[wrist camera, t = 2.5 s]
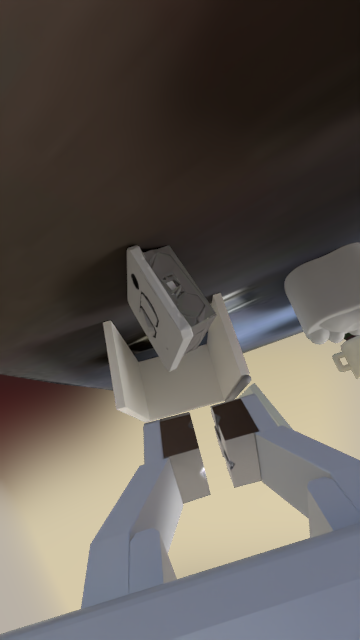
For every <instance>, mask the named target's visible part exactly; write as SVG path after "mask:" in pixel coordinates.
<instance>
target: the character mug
mask: <svg viewBox="0 0 360 640" xmlns="http://www.w3.org/2000/svg"><path fill="white" fill-rule="evenodd" d="M344 339H345V340H346V342H344V343H343V344H342V345H341V350H342V352H340V353H337V354H334V355H333V356H332V357H333V360H334V362H335V364H336V366H337V368H338V370H339V371H340V372H344V371H348V370H352V372H353V374H354V375H355V377H356V379H360V335H357V336H356V335H352V334H350V333H349V332H348V333H346V334H345V336H344ZM342 357H345V358H346V360H347V362H348V365H345V366H343V365H342V363H341V361H340V358H342Z"/></svg>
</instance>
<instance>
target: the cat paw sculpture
mask: <svg viewBox="0 0 360 640" xmlns="http://www.w3.org/2000/svg"><path fill="white" fill-rule="evenodd" d="M285 292H286V294H287V297H288V299H289V301H290V303H291V305H292V307H293V309H294V311H295V314H296V316H297V318H298V320H299V322H300V324H301V326H302V328H303V331H304V333H305V334H306V337H307V338H308V339H310V340H311V341H312V342H313V343H315V344H323V343H324V342H326V341H327V340H330V341H331V342H334V343H339V342H341V341H342V340H343V339H344V336H345V334H346V333H348V332H349V333H350V334H352V335H356V336H357V335H360V243H351V244H348V245H346V246H343V247H341V248H339V249H337V250H335V251H333V252H331V253H329V254H327V255H325V256H322V257H320V258H317V259H315V260H312V261H309V262H307V263H304V264H302V265H300V266H299V267H297V268H295V269H294V270H293V271H292V272H291V273H290V274H289V275H288V276H287V277H286V279H285Z"/></svg>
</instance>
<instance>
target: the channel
mask: <svg viewBox="0 0 360 640" xmlns="http://www.w3.org/2000/svg"><path fill="white" fill-rule="evenodd" d="M212 308H213V309H214V311H215V312H216V314H217V315H216V317H215V319H214V321H213V322H212V324H211V326H210V327H209V329H208V337H207V344H205V345H201V346H198V348H197V349H195V350H193V351H191V352H188V353H186V354H185V355H184V356H182V358H181V360H180V362H179V364H178V366H177V368H176V369H174V370H172V371H170V372H169V371H168V370H167V369H166V368H165V366H164V364H163V363H162V361H161V359H160V358H159V357H155V358H152V359H148V360H144V361H140V362H138V360H137V359H136V357H135V356H134V354H133V353H132V351H131V350H130V348H129V347H128V345H127V344H126V342H125V341H124V339H123V338H122V336H121V335H120V333H119V332H118V330H117V329H116V327H115V326H114V324H113V323H112V321H111V320H110V321H106V322H103V327H104V334H105V340H106V346H107V353H108V359H109V365H110V372H111V378H112V384H113V391H114V396H115V403H116V409H117V410H119V411H122V412H124V413H126V414H128V415H130V416H132V417H135V418H137V419H139V420H141V421H144V422H149V421H153V420H156V419H160V418H164V417H167V416H171V415H174V414H178V413H181V412H185V411H189V410H193V409H196V408H200V407H204V406H207V405H211V404H214V403H218V402H221V401H225V400H226V401H225V402H228V401H231V400H234V399H235V398H236V397H237V396H238V395H239V393H240V392H241V391H242V390H243V389H244V388H245V387H246V386H247V385H248V384H249V382H250V381H251V377H250V376H249V373H250V372H249V370H248V367H247V364H246V361H245V359H244V356H243V353H242V350H241V348H240V345H239V342H238V339H237V337H236V334H235V331H234V328H233V326H232V323H231V320H230V317H229V315H228V312H227V309H226V306H225V304H224V301H223V298H222V295H221V293H218V294H214V295H213V298H212ZM210 317H211V316H210Z"/></svg>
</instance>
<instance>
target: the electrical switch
mask: <svg viewBox="0 0 360 640" xmlns="http://www.w3.org/2000/svg"><path fill="white" fill-rule="evenodd" d="M170 275H172V276H171V277H169V276H170ZM174 280H175V281H176V282H177V283H178V284H179V285H180V286H178V287H176V285H175V284H174V282H173V281H174ZM182 292H183V293H182ZM127 299H128V303H129V305H130V307H131V309H132V311H133V313H134V314H135V316H136V318H137V320H138V321H139V323H140V325H141V327H142V328H143V330H144V332H145V334H146V335H147V337H148V339H149V341H150V342H151V344H152V346H153V348H154V349H155V351H156V353H157V354H158V356H159V358H160V359H161V361H162V363H163V364H164V366H165V368H166V369H167V370H168V371H169V372H170V371H172V370H174V369H176V368H177V366H178V364H179V362H180V360H181V358H182V356H184V355H185V354H186V353H188V352H191V351H193V350H195V349H197V348H198V346H199V344H200V343H201V341H202V339H203V338H204V336H205V334H206V332H207V331H208V329H209V327H210V326H211V324H212V322H213V321H214V319H215V317H216V315H217V314H216V312H215V311H214V309H213V308H212V306H211V305H210V304H209V302H208V301H207V299H206V298H205V296H204V295H203V293H202V292H201V291H200V289H199V288H198V286H197V285H196V283H195V282H194V280H193V279H192V278H191V276H190V275H189V273H188V272H187V270H186V269H185V268H184V266H183V265H182V263H181V262H180V260H179V259H178V257H177V256H176V255H175V253H174V252H173V250H172V249H171V247H170V246H169V245H168V246H165V247H162V248H159V249H155V250H150V251H147V252H142V251H141V249H140V247H139V246H137V245H135V246H133V247H130V248H128V249H127ZM210 316H211V317H210Z"/></svg>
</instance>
